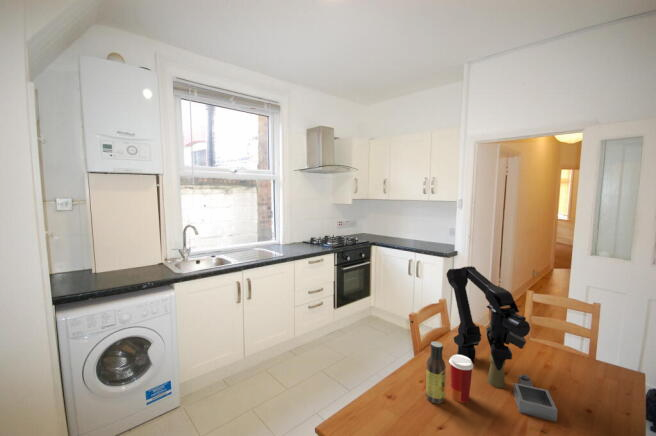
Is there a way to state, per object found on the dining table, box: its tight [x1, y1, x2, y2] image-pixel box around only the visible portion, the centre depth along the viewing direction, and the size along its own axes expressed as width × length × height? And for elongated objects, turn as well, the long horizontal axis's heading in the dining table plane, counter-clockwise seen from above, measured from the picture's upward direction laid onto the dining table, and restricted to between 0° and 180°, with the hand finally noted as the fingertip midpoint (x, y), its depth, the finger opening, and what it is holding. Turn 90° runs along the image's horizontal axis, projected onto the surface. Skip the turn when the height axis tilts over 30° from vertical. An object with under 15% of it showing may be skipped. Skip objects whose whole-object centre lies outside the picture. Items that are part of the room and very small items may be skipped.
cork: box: [486, 354, 506, 389], centre depth 109 cm, size 6×6×11 cm
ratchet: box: [512, 373, 559, 423], centre depth 101 cm, size 10×19×5 cm, turn 157°
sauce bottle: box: [425, 341, 447, 404], centre depth 100 cm, size 6×6×20 cm
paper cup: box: [448, 354, 475, 404], centre depth 101 cm, size 8×8×14 cm
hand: (496, 363), depth 109 cm, fingers open, 9 cm apart
